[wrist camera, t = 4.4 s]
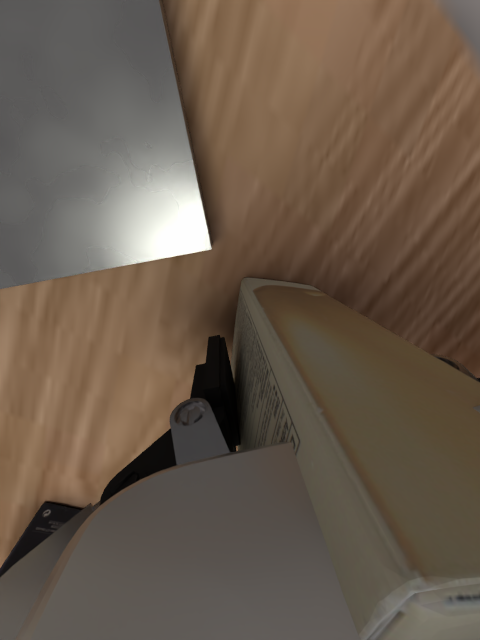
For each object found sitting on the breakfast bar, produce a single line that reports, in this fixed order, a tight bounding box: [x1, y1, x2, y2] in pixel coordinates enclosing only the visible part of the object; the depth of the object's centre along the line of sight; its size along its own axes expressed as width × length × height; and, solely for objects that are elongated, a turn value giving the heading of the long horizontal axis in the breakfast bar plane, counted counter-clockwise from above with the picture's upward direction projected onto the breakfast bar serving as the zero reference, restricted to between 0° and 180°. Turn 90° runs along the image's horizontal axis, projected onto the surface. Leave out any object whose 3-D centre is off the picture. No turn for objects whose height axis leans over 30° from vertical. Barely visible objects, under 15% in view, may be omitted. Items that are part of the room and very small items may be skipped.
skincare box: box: [231, 277, 480, 640], centre depth 8 cm, size 6×4×12 cm
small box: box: [0, 503, 81, 577], centre depth 16 cm, size 11×6×10 cm, turn 150°
